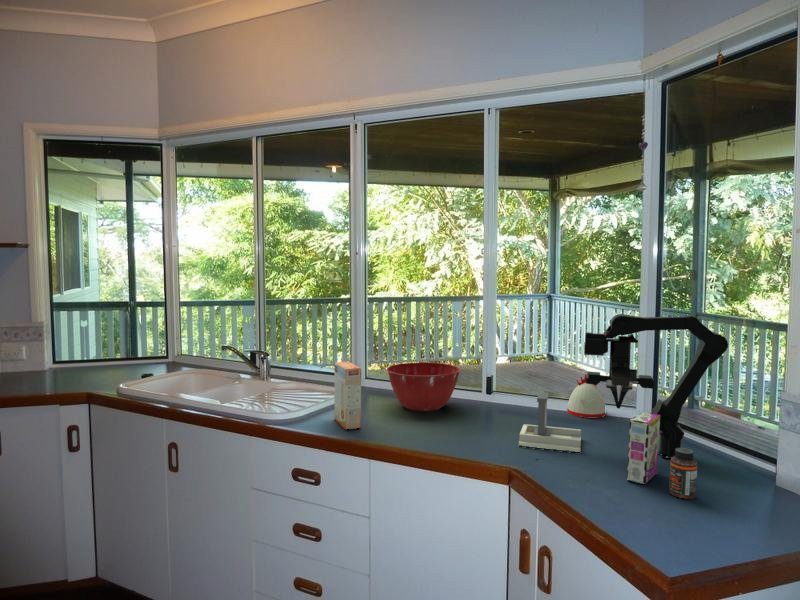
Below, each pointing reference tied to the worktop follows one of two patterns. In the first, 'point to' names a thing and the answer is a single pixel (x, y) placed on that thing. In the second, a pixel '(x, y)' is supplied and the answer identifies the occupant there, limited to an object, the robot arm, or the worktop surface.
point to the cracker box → (347, 395)
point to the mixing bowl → (423, 384)
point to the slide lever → (542, 415)
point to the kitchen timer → (586, 400)
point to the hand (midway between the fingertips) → (618, 408)
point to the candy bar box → (643, 447)
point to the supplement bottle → (683, 474)
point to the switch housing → (551, 438)
